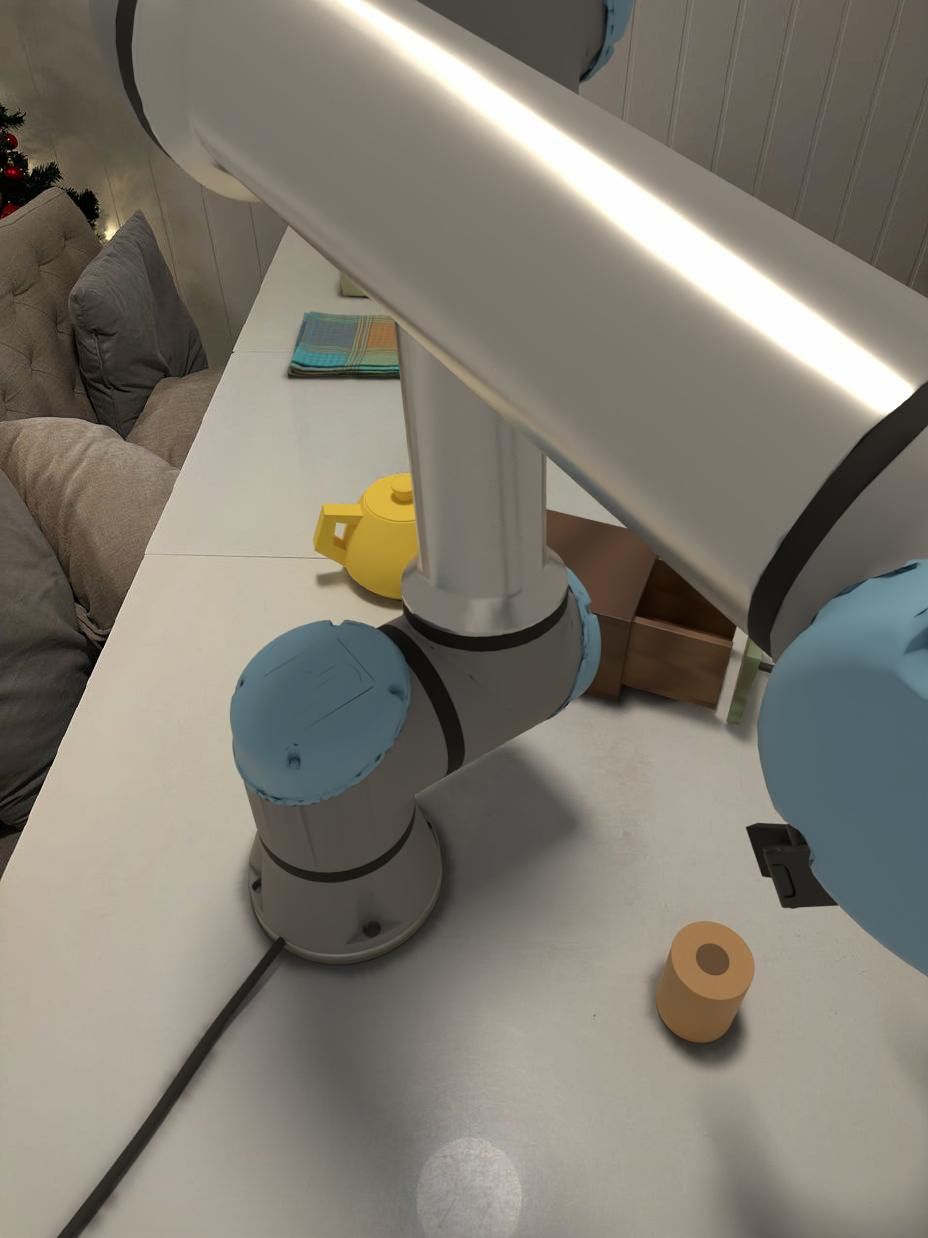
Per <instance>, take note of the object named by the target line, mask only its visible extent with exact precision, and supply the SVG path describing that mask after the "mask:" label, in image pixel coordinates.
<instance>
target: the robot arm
mask: <svg viewBox="0 0 928 1238" xmlns="http://www.w3.org/2000/svg"><path fill="white" fill-rule="evenodd" d="M87 1H88V2H87V3H88V11H89V18H90V25H91V28H92V32H93V35H94V38H95V41H96V46H97V48H98V52H99V55H100V58H101V61H102V62H101V63H102V65H103V66H104V69H105V71H106V74H107V75H108V77H109V80H110V81H111V84H112V86H113V88H114V90H115V92H116V95H117V96H118V98H119V99H120V100H121V102H122V104H123V105H124V106H125V108H126V109H127V111H128V112H129V114H130V115H131V116H132V118H133V120H134V121H135V122H136V124H137V126H138V127H139V128H140V129H141V131H142V132H143V133H144V134H145V135H146V136H147V137H148V139H150V140H151V141H152V142H153V143H154V145H156V147H158V148H159V149H160V151H162V152H163V154H165V156H167V157H168V158H169V159H170V160H171V161H172V162H173V163H174V164H175V165H176V166H177V167H179V169H180V170H182V172H184V173H185V174H186V175H187V176H189V178H192V179H193V180H194V181H195V182H196V183H198V184H199V185H201V186H203V187H204V188H206V189H207V190H209V191H210V192H213V193H216V194H218V195H221V196H223V197H225V198H228V199H232V200H237V201H241V202H249V203H263V204H264V205H265V206H266V207H267V208H268V209H269V210H271V212H273V213H274V214H275V215H276V216H277V217H278V218H279V219H281V220H282V222H284V223H285V224H286V225H287V226H288V227H290V229H291V230H292V231H294V232H295V233H296V234H297V235H298V236H300V237H301V239H303V240H304V241H305V242H306V243H307V244H309V245H310V247H312V249H314V250H315V251H316V252H317V253H318V254H320V255H321V256H322V257H323V258H324V259H325V260H326V261H327V262H329V263H330V265H332V266H333V267H334V268H335V269H336V270H337V271H338V272H341V273H342V274H343V275H344V276H345V277H347V278H348V279H349V280H350V281H351V282H352V283H353V284H354V285H356V286H357V287H358V288H359V289H360V290H361V291H362V292H363V293H365V294H366V295H367V296H368V297H367V298H369V299H370V300H371V301H372V302H373V303H374V304H376V306H378V307H379V309H381V310H382V311H383V312H385V313H386V314H387V316H390V317H391V318H392V319H394V326H395V335H396V345H397V354H398V363H399V373H400V376H399V381H400V382H399V383H400V390H401V400H402V409H403V410H402V411H403V417H404V418H403V419H404V420H403V421H404V428H405V437H406V446H407V455H408V464H409V473H410V476H411V485H412V494H413V504H414V513H415V522H416V532H417V541H418V550H419V553H417V554H416V555H415V556H414V557H413V558H412V559H411V560H410V561H409V563H408V564H407V566H406V567H405V569H404V571H403V574H402V578H401V596H402V600H401V602H402V604H401V605H402V612H403V613H402V614H401V615H399V616H397V617H395V618H393V619H391V620H389V621H388V622H385V623H383V624H382V625H379V626H377V627H374V626H372V625H370V624H367V623H364V622H360V621H356V620H351V619H343V621H342V622H341V623H340V624H338V625H337V624H333V621H331V620H330V619H324V620H318V621H312V622H308V623H306V624H303V625H300V626H297V627H294V628H292V629H290V630H287V631H286V632H284V633H281V634H280V635H278V636H277V637H275V638H274V639H272V640H271V641H270V642H268V643H267V644H265V646H263V647H262V648H261V649H260V650H259V651H257V653H255V655H254V656H253V657H252V658H251V659H250V660H249V662H248V663H247V665H246V666H245V667H244V669H243V670H242V672H241V674H240V676H239V678H238V680H237V683H236V685H235V689H234V692H233V694H232V696H231V699H230V700H231V701H230V707H229V725H230V731H231V735H232V741H231V744H232V745H231V746H232V748H231V749H232V755H233V761H234V764H235V767H236V770H237V772H238V774H239V777H240V778H241V780H242V781H243V786H244V788H245V792H246V796H247V799H248V802H249V807H250V809H251V813H252V817H253V820H254V823H255V827H256V832H255V836H254V839H253V843H252V845H251V846H252V847H251V849H250V854H249V856H248V857H249V858H248V859H249V860H248V865H247V866H248V867H247V885H248V892H249V898H250V900H251V903H252V906H253V909H254V912H255V915H256V917H257V920H258V921H259V923H260V925H261V926H262V928H263V930H264V931H265V932H266V934H268V936H269V937H270V938H271V939H272V940H273V941H274V942H273V944H271V946H270V948H269V949H268V950H267V951H266V952H265V954H264V955H263V956H262V957H261V959H260V960H259V961H258V963H257V964H256V965H255V967H254V968H253V969H252V971H251V972H250V973H249V975H248V976H247V977H246V979H245V980H244V981H243V982H242V984H240V987H239V988H238V989H237V990H236V992H234V994H233V995H232V996H231V998H230V999H229V1001H228V1002H227V1003H226V1005H225V1006H224V1007H223V1009H221V1011H220V1012H219V1014H218V1015H217V1017H216V1018H215V1019H214V1021H213V1022H212V1023H211V1024H210V1026H209V1027H208V1029H207V1030H206V1031H205V1033H204V1035H203V1036H202V1037H201V1039H200V1040H199V1042H198V1043H197V1045H196V1046H195V1048H193V1050H192V1052H191V1053H190V1055H189V1056H188V1058H187V1059H186V1060H185V1062H184V1064H183V1065H182V1066H181V1068H180V1070H179V1071H178V1072H177V1074H176V1076H175V1077H174V1078H173V1080H172V1081H171V1083H170V1085H169V1086H168V1088H167V1089H166V1091H165V1092H164V1093H163V1095H162V1097H161V1098H160V1099H159V1100H158V1102H157V1103H156V1105H155V1106H154V1107H153V1109H152V1110H151V1112H150V1114H149V1115H148V1116H147V1118H146V1119H145V1120H144V1122H143V1123H142V1125H141V1126H140V1127H139V1129H138V1130H137V1132H136V1133H135V1134H134V1135H133V1137H132V1138H131V1140H130V1141H129V1142H128V1144H127V1145H126V1146H125V1148H124V1149H123V1151H122V1152H121V1153H120V1154H119V1156H118V1157H117V1159H115V1161H114V1163H113V1164H112V1166H111V1167H110V1168H109V1169H108V1171H107V1172H106V1173H105V1175H104V1176H103V1177H102V1179H101V1180H100V1181H99V1182H98V1184H97V1185H96V1186H95V1188H94V1189H93V1191H92V1192H91V1193H90V1194H89V1195H88V1196H87V1198H86V1200H85V1201H83V1203H82V1204H81V1206H80V1207H79V1208H78V1210H77V1211H76V1212H75V1214H73V1216H72V1217H71V1219H70V1220H69V1221H68V1223H67V1224H66V1225H65V1226H64V1228H63V1229H62V1230H61V1231H60V1232H59V1234H58V1235H57V1237H56V1238H74V1237H75V1236H76V1234H77V1233H78V1231H79V1230H80V1229H81V1228H82V1226H83V1225H84V1224H85V1223H86V1221H87V1220H88V1218H89V1217H91V1215H92V1213H93V1212H94V1210H96V1208H97V1207H98V1205H99V1204H100V1202H102V1200H103V1199H104V1198H105V1196H106V1195H107V1193H108V1192H109V1191H110V1190H111V1188H112V1187H113V1186H114V1184H115V1183H116V1182H117V1180H118V1179H119V1177H121V1175H122V1173H123V1172H124V1171H125V1170H126V1168H127V1167H128V1165H129V1164H130V1162H131V1161H132V1160H133V1158H134V1157H135V1156H136V1154H137V1153H138V1152H139V1150H140V1149H141V1147H142V1146H143V1145H144V1143H145V1142H146V1141H147V1139H148V1138H149V1137H150V1135H151V1134H152V1132H153V1131H154V1130H155V1128H156V1126H157V1125H158V1123H159V1122H160V1121H161V1120H162V1118H163V1117H164V1116H165V1113H166V1112H167V1111H168V1109H169V1108H170V1106H171V1105H172V1103H173V1102H174V1100H175V1099H176V1097H177V1096H178V1095H179V1093H180V1091H181V1090H182V1088H183V1087H184V1085H185V1084H186V1083H187V1081H188V1080H189V1078H190V1077H191V1075H192V1073H193V1072H194V1070H195V1069H196V1067H197V1065H198V1064H199V1063H200V1061H201V1060H202V1058H203V1057H204V1055H205V1054H206V1053H207V1052H208V1050H209V1048H210V1047H211V1046H212V1044H213V1042H214V1041H215V1040H216V1038H217V1037H218V1035H219V1034H220V1032H222V1030H223V1028H224V1027H225V1025H226V1024H227V1023H228V1021H229V1020H230V1018H231V1017H232V1015H234V1013H236V1011H237V1009H238V1008H239V1006H240V1005H241V1004H242V1002H243V1001H244V1000H245V999H246V998H247V996H248V995H249V993H250V992H251V991H252V990H253V988H254V987H255V986H256V985H257V983H258V982H259V980H260V979H261V978H262V976H263V975H264V974H265V973H266V971H267V970H268V969H269V967H270V966H271V965H272V963H273V962H274V961H275V959H276V958H277V957H278V956H279V954H280V953H281V952H282V950H283V949H284V950H286V951H288V952H289V953H291V954H292V955H295V956H297V957H299V958H302V959H305V960H307V961H311V962H316V963H321V964H327V965H328V964H329V965H348V964H355V963H361V962H365V961H369V960H372V959H375V958H378V957H380V956H382V955H384V954H386V953H389V952H391V951H393V950H394V949H396V948H397V947H399V946H400V945H402V944H404V942H406V941H407V940H408V939H410V938H411V937H412V936H413V935H414V934H415V933H416V932H417V931H418V930H420V928H421V927H422V926H423V924H424V923H425V922H426V920H427V919H428V917H429V916H430V915H431V912H432V911H433V909H434V907H435V905H436V903H437V900H438V898H439V895H440V890H441V886H442V880H443V854H442V847H441V843H440V840H439V836H438V834H437V832H436V829H435V826H434V824H433V822H432V821H431V818H430V817H429V816H428V814H427V813H426V811H425V810H424V809H423V808H422V806H421V805H420V804H419V803H418V800H417V799H416V795H417V794H419V793H420V792H423V791H424V790H426V789H427V788H430V787H431V786H433V785H434V784H435V783H437V782H440V781H441V780H442V779H444V778H446V777H448V776H449V775H451V774H453V773H454V772H456V771H458V770H460V769H462V768H464V767H465V766H467V765H469V764H471V763H473V762H474V761H476V760H478V759H480V758H481V757H484V756H485V755H486V754H488V753H490V752H492V751H494V750H495V749H497V748H499V747H500V746H503V745H504V744H506V743H508V742H509V741H511V740H513V739H515V738H518V737H519V736H520V735H522V734H523V733H526V732H527V731H529V730H531V729H533V728H534V727H536V726H538V725H540V724H541V723H544V722H545V721H548V720H551V719H552V718H555V717H556V716H557V715H558V714H559V713H560V712H562V711H563V710H565V708H566V707H567V706H568V705H569V704H571V703H572V702H573V701H576V700H577V699H578V698H579V697H580V696H581V695H583V694H585V693H584V692H585V691H586V689H587V688H588V687H589V686H590V684H591V683H592V681H593V679H594V677H595V675H596V672H597V669H598V666H599V662H600V655H601V635H600V628H599V623H598V619H597V616H596V615H594V614H592V613H591V612H590V610H589V605H590V603H591V599H590V597H589V595H588V593H587V591H586V589H585V588H584V586H583V585H582V583H581V582H580V580H579V579H578V578H577V577H576V576H575V574H574V573H573V572H572V571H571V570H570V569H569V568H568V567H566V566H565V564H564V562H563V561H562V559H561V558H560V557H559V555H558V554H557V553H556V552H554V551H553V550H552V549H551V548H550V547H548V546H546V509H547V459H549V460H550V461H551V462H552V463H554V464H555V465H556V466H557V467H558V468H559V469H560V470H561V471H562V472H563V473H565V474H566V475H567V476H568V477H569V478H570V479H571V480H572V481H573V482H575V483H576V484H577V485H578V486H579V487H581V489H583V491H585V492H586V493H587V494H588V495H589V496H591V498H593V499H594V501H596V502H597V503H598V504H600V505H601V507H603V508H604V509H605V510H606V511H607V512H608V513H610V514H611V516H613V517H614V518H615V519H616V520H617V521H618V522H620V523H621V524H622V525H623V527H624V528H628V529H629V530H630V531H631V532H632V533H633V534H634V535H635V536H637V537H638V538H639V539H640V540H641V541H642V542H643V543H644V544H645V545H647V546H648V547H649V548H650V549H651V550H652V551H653V552H654V553H656V554H657V555H658V556H659V557H660V558H661V559H662V560H663V561H665V562H666V563H667V564H668V565H669V566H670V567H671V568H672V569H673V570H675V571H676V572H677V573H678V574H679V575H680V576H681V577H682V578H684V579H685V580H686V581H687V582H688V583H689V584H690V585H691V586H693V587H694V588H695V589H696V590H697V591H698V592H699V593H700V594H701V595H703V596H704V597H705V598H706V599H707V600H708V601H709V602H710V603H712V604H713V605H714V606H715V607H716V608H717V609H718V610H719V611H720V612H722V613H723V614H724V615H725V616H726V617H727V618H728V619H729V620H731V621H732V622H733V623H734V624H735V625H736V626H737V628H738V629H739V630H741V632H743V633H744V634H745V635H746V636H747V638H748V637H749V638H750V639H751V640H752V641H753V642H754V643H755V644H756V645H757V646H758V647H759V648H760V649H761V650H763V653H765V654H766V655H767V656H768V657H769V658H770V659H771V661H772V664H773V665H774V667H773V669H772V671H771V673H769V676H768V678H767V681H766V684H765V687H764V691H763V694H762V697H761V702H760V706H759V710H758V716H757V722H756V734H757V736H756V737H757V751H758V756H759V762H760V767H761V771H762V775H763V780H764V783H765V787H766V790H767V793H768V795H769V798H770V802H771V804H772V806H773V809H774V810H775V811H776V813H777V814H778V815H779V816H780V817H781V819H782V820H783V821H784V822H785V823H774V822H773V823H770V822H756V823H753V824H751V825H746V826H745V830H746V832H747V836H748V839H749V842H750V845H751V848H752V851H753V854H754V857H755V860H756V863H757V866H758V869H759V871H760V874H761V877H763V878H769V879H771V880H772V884H773V886H774V889H775V893H776V896H777V898H778V901H779V904H780V906H781V908H783V909H790V910H794V909H799V908H800V909H801V908H818V907H819V908H820V907H840V908H841V910H842V911H844V913H846V915H848V916H849V918H851V920H852V921H854V922H855V923H856V924H857V925H858V926H859V927H860V928H861V929H862V930H863V931H864V932H866V933H867V934H868V935H869V936H870V937H872V939H874V940H875V941H876V942H878V943H879V944H880V945H881V946H882V947H884V948H885V949H886V950H887V951H889V952H891V953H892V954H893V955H895V957H897V958H899V959H900V960H902V961H903V962H904V963H905V964H907V965H908V966H910V967H911V968H913V969H914V970H917V971H918V972H919V973H921V974H922V975H924V976H926V977H927V978H928V297H926V296H924V295H923V294H921V293H919V292H917V291H916V290H914V289H913V288H911V287H909V286H907V285H905V284H904V283H902V282H900V281H899V280H897V279H895V278H894V277H892V276H890V275H888V274H887V273H885V272H883V271H881V270H879V269H878V268H876V267H874V266H873V265H871V264H869V263H868V262H866V261H865V260H863V259H862V258H859V257H858V256H856V255H855V254H852V253H850V252H849V251H848V250H845V249H844V248H843V247H840V246H838V245H837V244H835V243H834V242H832V241H829V240H828V239H827V238H825V237H824V236H822V235H820V234H818V233H816V232H814V231H813V230H811V229H809V228H807V227H806V226H804V225H802V224H801V223H800V222H798V221H795V219H792V218H791V217H789V216H787V215H785V214H783V213H782V212H780V211H778V210H777V209H775V208H773V207H772V206H770V205H768V204H767V203H765V202H763V201H761V200H760V199H758V198H756V197H754V196H753V195H751V194H749V193H748V192H746V191H744V190H742V189H741V188H739V187H738V186H736V185H734V184H733V183H730V182H728V181H727V180H726V179H724V178H722V177H720V176H719V175H717V174H715V173H714V172H712V171H710V170H708V169H706V168H705V167H703V166H701V165H700V164H698V163H696V162H694V161H693V160H691V159H689V158H687V157H686V156H684V155H682V154H681V153H679V152H677V151H675V150H674V149H672V148H670V147H668V146H667V145H665V144H663V143H662V142H660V141H658V139H657V140H656V139H655V138H653V137H652V136H649V135H648V134H646V133H645V132H643V131H642V130H640V129H638V128H636V127H635V126H633V125H631V124H629V123H628V122H626V121H624V120H623V119H620V118H619V117H617V116H615V115H614V114H612V113H610V112H609V111H607V110H605V109H603V108H601V106H598V105H597V104H595V103H593V102H591V101H590V100H588V99H586V98H585V97H583V96H581V95H580V85H582V84H583V83H585V82H588V81H590V80H591V79H592V78H593V77H594V76H595V75H596V74H597V73H598V72H600V70H601V69H602V68H603V67H604V66H606V65H607V64H608V63H609V61H610V60H611V58H612V57H613V55H614V54H615V50H616V49H615V44H616V43H617V42H619V41H621V40H622V39H623V38H624V36H625V34H626V31H627V28H628V25H629V22H630V19H631V15H632V12H633V6H634V3H635V2H634V1H635V0H87ZM341 273H340V274H341Z"/></svg>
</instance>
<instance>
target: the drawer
mask: <svg viewBox="0 0 928 1238" xmlns="http://www.w3.org/2000/svg"><path fill="white" fill-rule="evenodd" d="M737 628H738V627H737V626H736V625H735V624H734V623H733V622H732V621H731V620H729V619H728V618H727V617H726V616H725V615H724V614H723V613H722V612H720V611H719V610H718V609H717V608H716V607H715V606H714V605H713V604H712V603H710V602H709V601H708V600H707V599H706V598H705V597H704V596H703V595H701V594H700V593H699V592H698V591H697V590H696V589H695V588H694V587H693V586H691V585H690V584H689V583H688V582H687V581H686V580H685V579H684V578H682V577H681V576H680V575H679V574H678V573H677V572H676V571H675V570H673V569H672V568H671V567H670V566H669V565H668V564H667V563H666V562H665V561H663V560H662V559H661V558H660V557H659V556H658V557H657V560H656V562H655V565H654V567H653V570H652V572H651V575H650V578H649V580H648V583H647V585H646V588H645V590H644V593H643V596H642V598H641V601H640V603H639V606H638V608H637V611H636V614H635V616H634V619H633V621H632V625H631V631H630V636H629V642H628V647H627V653H626V659H625V664H624V670H623V676H622V681H621V684H623V686H628V687H631V688H635V689H639V690H642V691H646V692H649V693H651V694H656V695H658V696H659V695H660V696H663V697H666V698H669V699H673V700H676V701H680V702H684V703H686V704H690V705H693V706H697V707H701V708H705V709H708V710H711V711H715V708H716V705H717V701H718V698H719V694H720V691H721V688H722V684H723V681H724V679H725V678H724V677H725V674H726V671H727V667H728V664H729V661H730V657H731V654H732V651H733V647H734V642H733V641H734V637H735V635H736V632H737ZM763 653H764V651H763V650H761V649H760V648H759V647H758V646H757V645H756V644H755V643H754V642H753V641H752V640H751V639H750V638H749V637H748V636H747V639H746V643H745V647H744V650H743V654H742V658H741V662H740V665H739V669H738V673H737V678H736V682H735V686H734V689H733V693H732V697H731V701H730V705H729V709H728V713H727V716H726V719H725V720H726V721H725V723H727V724H731V725H733V726H734V725H735V726H739V727H740V725H741V722H742V720H743V716H744V712H745V710H746V707H747V704H748V701H749V698H750V695H751V692H752V689H753V685H754V683H755V680H756V676H757V673H758V671H761V672H764V673H767V674H771V671H772V669H773V667H774V665H775V664H773V663H768V662H765V661H762V657H763Z"/></svg>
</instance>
